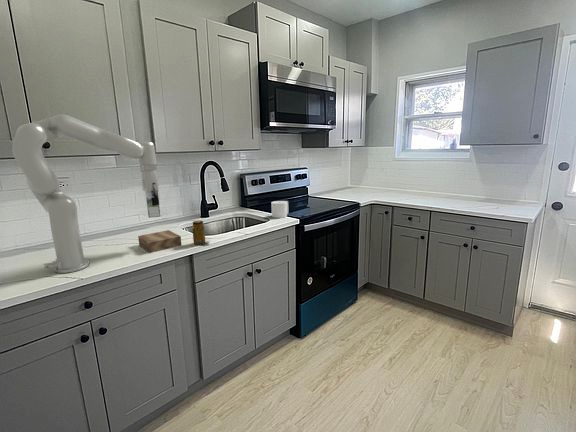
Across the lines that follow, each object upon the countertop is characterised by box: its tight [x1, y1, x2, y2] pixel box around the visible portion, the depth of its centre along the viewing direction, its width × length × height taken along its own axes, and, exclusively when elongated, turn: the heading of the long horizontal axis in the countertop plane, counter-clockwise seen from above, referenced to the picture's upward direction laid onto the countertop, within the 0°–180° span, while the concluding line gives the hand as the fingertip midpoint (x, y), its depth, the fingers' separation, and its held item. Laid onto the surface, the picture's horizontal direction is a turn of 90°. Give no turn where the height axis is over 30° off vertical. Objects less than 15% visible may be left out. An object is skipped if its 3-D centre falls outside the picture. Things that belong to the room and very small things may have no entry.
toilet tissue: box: [271, 200, 289, 219], centre depth 224 cm, size 11×12×10 cm
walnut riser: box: [137, 229, 182, 254], centre depth 165 cm, size 16×16×5 cm
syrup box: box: [144, 189, 162, 218], centre depth 159 cm, size 6×6×14 cm
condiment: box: [191, 220, 211, 247], centre depth 166 cm, size 7×8×12 cm
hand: (153, 203), depth 159 cm, fingers closed on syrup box, 7 cm apart
